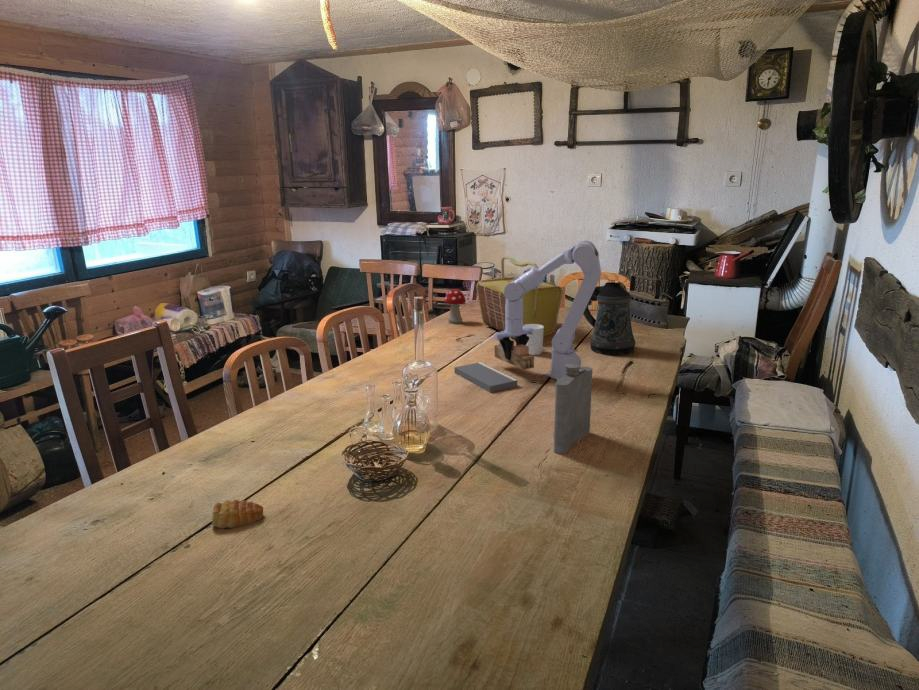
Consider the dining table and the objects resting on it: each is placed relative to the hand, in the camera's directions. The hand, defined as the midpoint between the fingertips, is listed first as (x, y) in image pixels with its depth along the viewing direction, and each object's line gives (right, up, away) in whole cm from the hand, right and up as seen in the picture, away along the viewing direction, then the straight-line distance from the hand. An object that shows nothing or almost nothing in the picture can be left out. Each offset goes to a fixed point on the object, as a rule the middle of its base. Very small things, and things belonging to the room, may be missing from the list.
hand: (513, 357), depth 204 cm
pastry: (-62, -30, -83) cm, 108 cm away
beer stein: (+37, +2, +25) cm, 45 cm away
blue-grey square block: (-2, +3, +3) cm, 5 cm away
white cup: (+9, +1, +23) cm, 25 cm away
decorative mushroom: (-20, +14, +69) cm, 73 cm away
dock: (-10, -7, -5) cm, 13 cm away
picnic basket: (+7, +10, +54) cm, 55 cm away
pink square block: (+2, +1, -4) cm, 5 cm away
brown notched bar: (0, -1, 0) cm, 2 cm away
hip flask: (+10, -20, -51) cm, 56 cm away
